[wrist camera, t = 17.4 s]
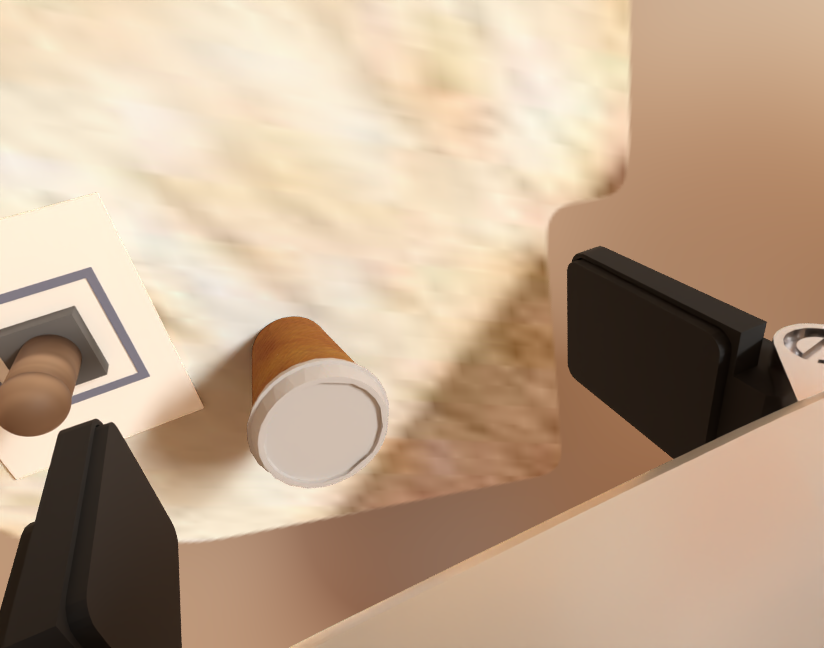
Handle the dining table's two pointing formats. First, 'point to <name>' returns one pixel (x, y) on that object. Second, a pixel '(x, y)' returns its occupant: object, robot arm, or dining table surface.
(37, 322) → the stamp
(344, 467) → the disposable coffee cup
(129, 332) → the sheet
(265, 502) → the dining table surface
